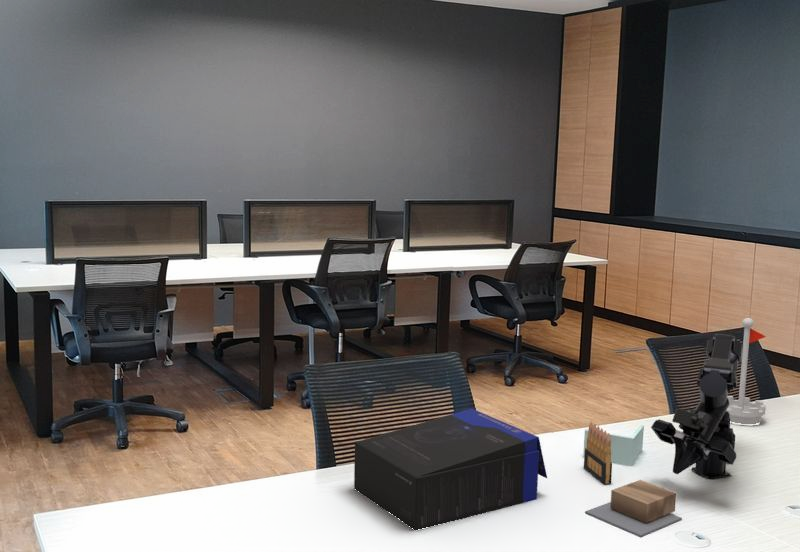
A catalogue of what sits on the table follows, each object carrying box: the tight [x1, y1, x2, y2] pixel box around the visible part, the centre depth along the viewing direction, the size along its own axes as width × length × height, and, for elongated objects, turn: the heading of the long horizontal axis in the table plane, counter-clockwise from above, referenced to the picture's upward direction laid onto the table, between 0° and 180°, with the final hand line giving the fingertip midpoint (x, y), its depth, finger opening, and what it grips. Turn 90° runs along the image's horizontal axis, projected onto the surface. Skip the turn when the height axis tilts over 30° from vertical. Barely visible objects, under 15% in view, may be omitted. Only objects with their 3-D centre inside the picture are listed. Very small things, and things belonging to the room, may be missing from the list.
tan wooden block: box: [610, 479, 677, 523], centre depth 182 cm, size 4×9×10 cm
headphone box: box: [353, 407, 548, 531], centre depth 189 cm, size 25×35×14 cm
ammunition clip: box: [583, 420, 613, 486], centre depth 201 cm, size 11×2×12 cm, turn 14°
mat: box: [584, 501, 683, 538], centre depth 180 cm, size 14×14×1 cm
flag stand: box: [726, 317, 767, 424], centre depth 246 cm, size 13×13×30 cm
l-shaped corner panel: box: [582, 424, 645, 467], centre depth 217 cm, size 12×12×8 cm
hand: (674, 472), depth 188 cm, fingers closed
